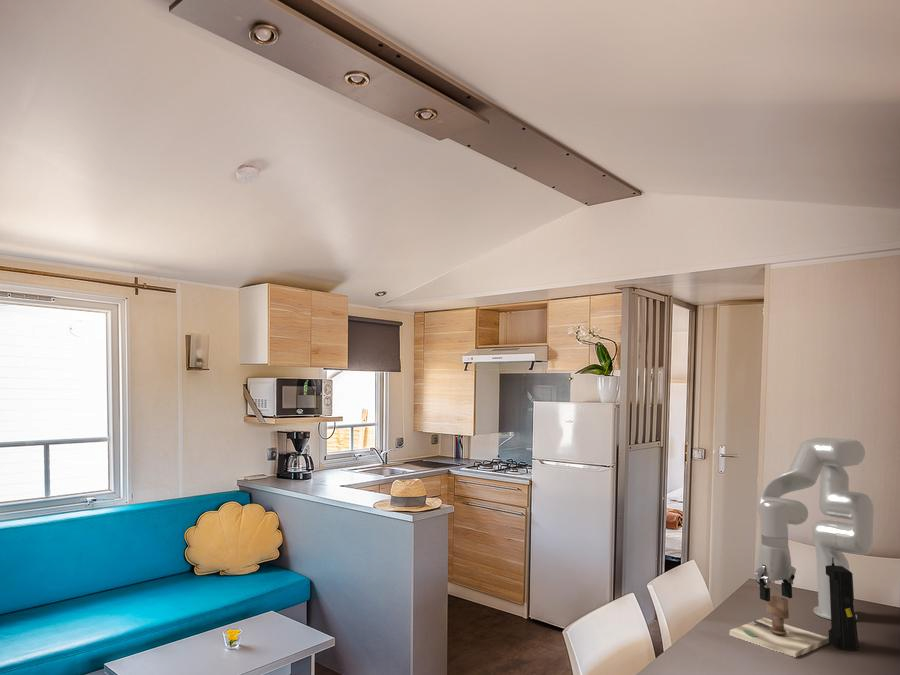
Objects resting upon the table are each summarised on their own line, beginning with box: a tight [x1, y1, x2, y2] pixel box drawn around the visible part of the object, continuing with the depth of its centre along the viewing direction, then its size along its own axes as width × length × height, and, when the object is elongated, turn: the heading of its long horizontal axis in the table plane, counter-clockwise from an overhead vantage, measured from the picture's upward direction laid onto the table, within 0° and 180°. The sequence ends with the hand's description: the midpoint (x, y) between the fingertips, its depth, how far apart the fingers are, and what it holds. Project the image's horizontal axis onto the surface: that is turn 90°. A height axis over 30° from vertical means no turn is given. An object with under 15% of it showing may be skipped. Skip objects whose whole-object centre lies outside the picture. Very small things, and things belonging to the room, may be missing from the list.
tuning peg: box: [753, 593, 790, 635], centre depth 193 cm, size 12×4×11 cm, turn 25°
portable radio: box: [825, 559, 860, 652], centre depth 185 cm, size 8×6×25 cm
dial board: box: [729, 617, 830, 658], centre depth 190 cm, size 20×20×2 cm
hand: (776, 598), depth 190 cm, fingers open, 9 cm apart
